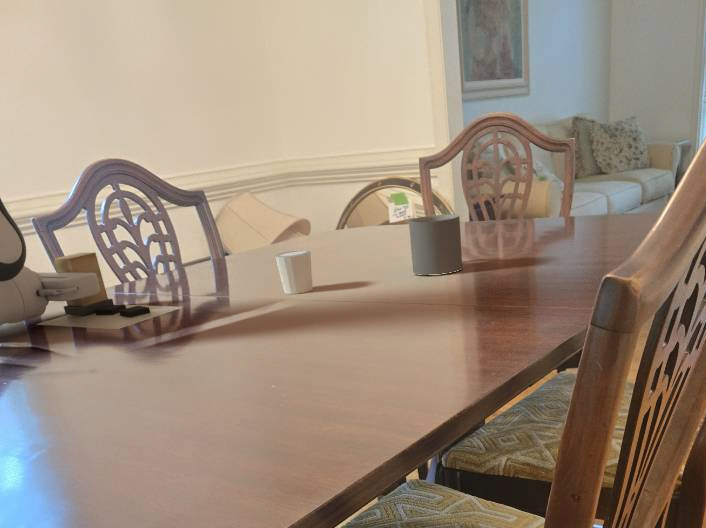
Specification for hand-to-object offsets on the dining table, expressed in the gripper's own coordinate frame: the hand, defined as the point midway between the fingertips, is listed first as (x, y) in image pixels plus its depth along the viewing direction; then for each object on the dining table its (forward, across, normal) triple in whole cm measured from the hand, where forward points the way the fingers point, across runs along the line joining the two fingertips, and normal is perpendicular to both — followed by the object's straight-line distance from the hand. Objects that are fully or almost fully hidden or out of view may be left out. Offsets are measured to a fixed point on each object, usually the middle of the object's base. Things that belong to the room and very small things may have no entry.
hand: (84, 276), depth 144 cm
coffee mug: (+45, -51, +8) cm, 68 cm away
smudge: (-1, -6, +6) cm, 9 cm away
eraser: (-1, 0, +6) cm, 6 cm away
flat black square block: (-1, -13, +6) cm, 14 cm away
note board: (-3, -8, +7) cm, 11 cm away
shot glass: (+24, -31, +8) cm, 40 cm away
